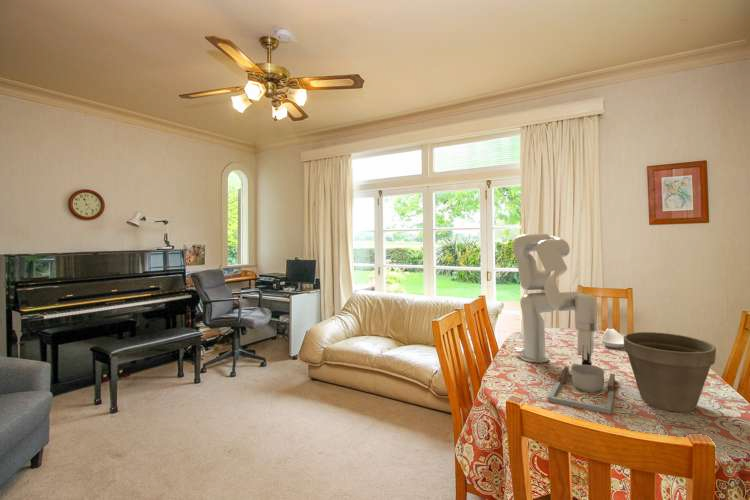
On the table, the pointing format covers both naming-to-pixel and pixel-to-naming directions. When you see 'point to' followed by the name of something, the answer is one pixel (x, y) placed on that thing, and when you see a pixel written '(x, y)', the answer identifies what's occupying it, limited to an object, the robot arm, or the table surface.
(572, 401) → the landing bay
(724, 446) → the table surface
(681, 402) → the plant pot
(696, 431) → the table surface
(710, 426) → the table surface
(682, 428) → the table surface
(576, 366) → the teacup
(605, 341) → the white sneaker
